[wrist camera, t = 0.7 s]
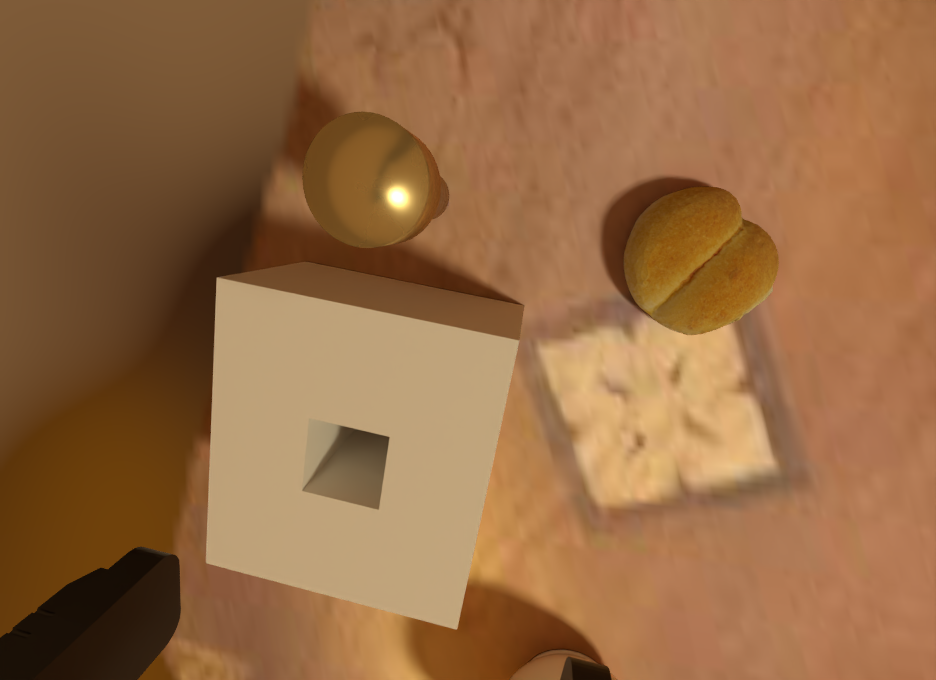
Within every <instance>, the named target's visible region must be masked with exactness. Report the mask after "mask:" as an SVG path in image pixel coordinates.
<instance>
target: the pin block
mask: <svg viewBox="0 0 936 680" xmlns="http://www.w3.org/2000/svg"><path fill="white" fill-rule="evenodd" d="M523 311H524V305H519V304H514V303H509V302H504V301H499V300H494V299H489V298H484V297H479V296H474V295H470V294H465V293H460V292H455V291H450V290H445V289H440V288H435V287H430V286H425V285H420V284H415V283H410V282H405V281H400V280H395V279H390V278H385V277H380V276H375V275H370V274H365V273H360V272H355V271H350V270H346V269H341V268H336V267H331V266H326V265H321V264H316V263H311V262H300V263H295V264H289V265H284V266H278V267H272V268H267V269H261V270H256V271H250V272H244V273H239V274H233V275H227V276H222V277H217V282H216V309H215V335H214V362H213V388H212V415H211V442H210V468H209V495H208V521H207V548H206V563H208V564H212V565H215V566H219V567H223V568H227V569H230V570H234V571H238V572H242V573H245V574H249V575H253V576H257V577H260V578H264V579H268V580H272V581H275V582H279V583H283V584H287V585H290V586H294V587H298V588H302V589H305V590H309V591H313V592H317V593H320V594H324V595H328V596H332V597H336V598H339V599H343V600H347V601H351V602H354V603H358V604H362V605H366V606H369V607H373V608H377V609H381V610H384V611H388V612H392V613H396V614H399V615H403V616H407V617H411V618H414V619H418V620H422V621H426V622H429V623H433V624H437V625H441V626H444V627H448V628H452V629H456V630H457V628H458V623H459V619H460V614H461V609H462V605H463V600H464V595H465V591H466V586H467V581H468V577H469V572H470V567H471V563H472V558H473V553H474V549H475V544H476V540H477V535H478V530H479V526H480V521H481V516H482V512H483V507H484V502H485V498H486V493H487V488H488V484H489V479H490V474H491V470H492V465H493V461H494V456H495V451H496V447H497V442H498V437H499V433H500V428H501V423H502V419H503V414H504V409H505V405H506V400H507V395H508V391H509V386H510V381H511V377H512V372H513V368H514V363H515V358H516V354H517V349H518V344H519V339H520V332H521V325H522V318H523Z"/></svg>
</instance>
